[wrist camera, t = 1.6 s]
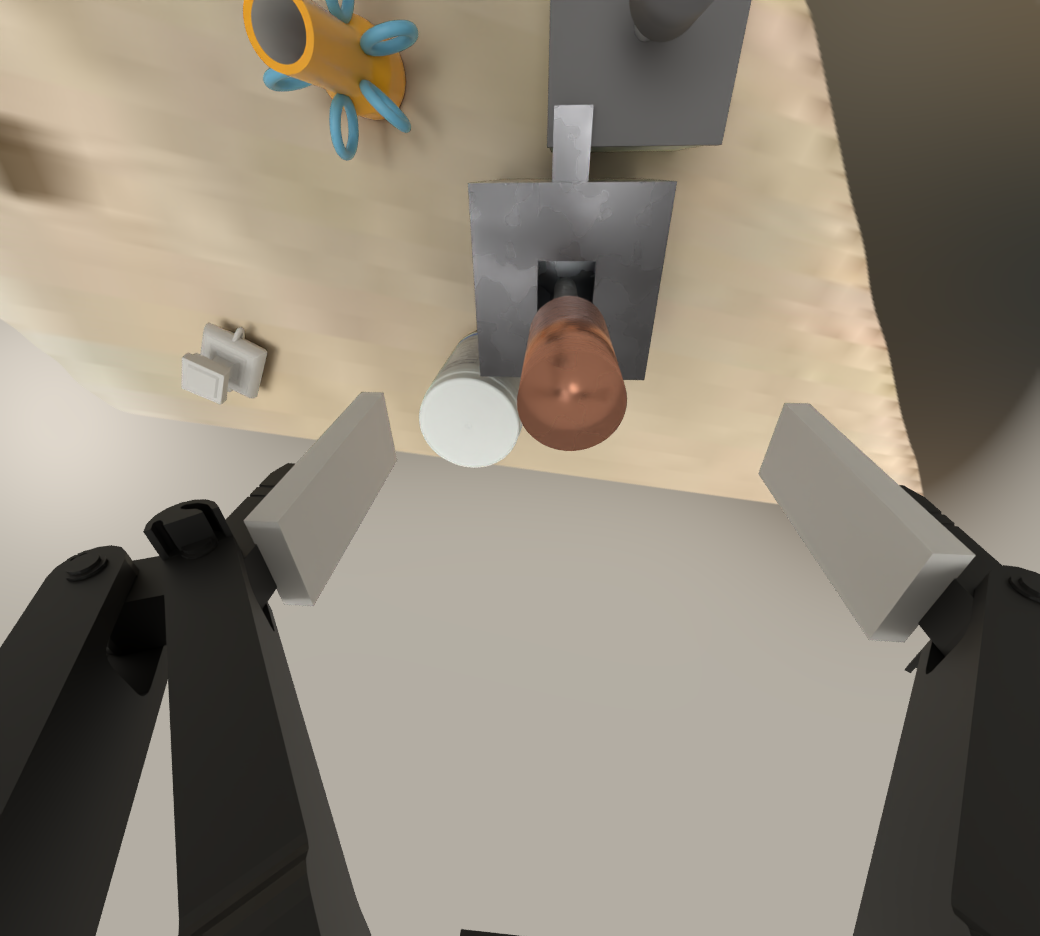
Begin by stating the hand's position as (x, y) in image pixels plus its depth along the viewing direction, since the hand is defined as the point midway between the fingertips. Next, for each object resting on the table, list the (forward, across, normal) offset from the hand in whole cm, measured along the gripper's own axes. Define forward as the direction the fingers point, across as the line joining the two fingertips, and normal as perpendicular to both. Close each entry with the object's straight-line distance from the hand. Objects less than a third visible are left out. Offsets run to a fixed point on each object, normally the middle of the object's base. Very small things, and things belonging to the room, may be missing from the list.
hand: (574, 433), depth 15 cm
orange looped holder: (+36, -17, +14) cm, 42 cm away
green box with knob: (+36, +4, +14) cm, 39 cm away
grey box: (+35, 0, +2) cm, 36 cm away
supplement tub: (+36, -8, -12) cm, 38 cm away
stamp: (+36, -38, -10) cm, 53 cm away
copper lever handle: (+20, 0, 0) cm, 21 cm away
